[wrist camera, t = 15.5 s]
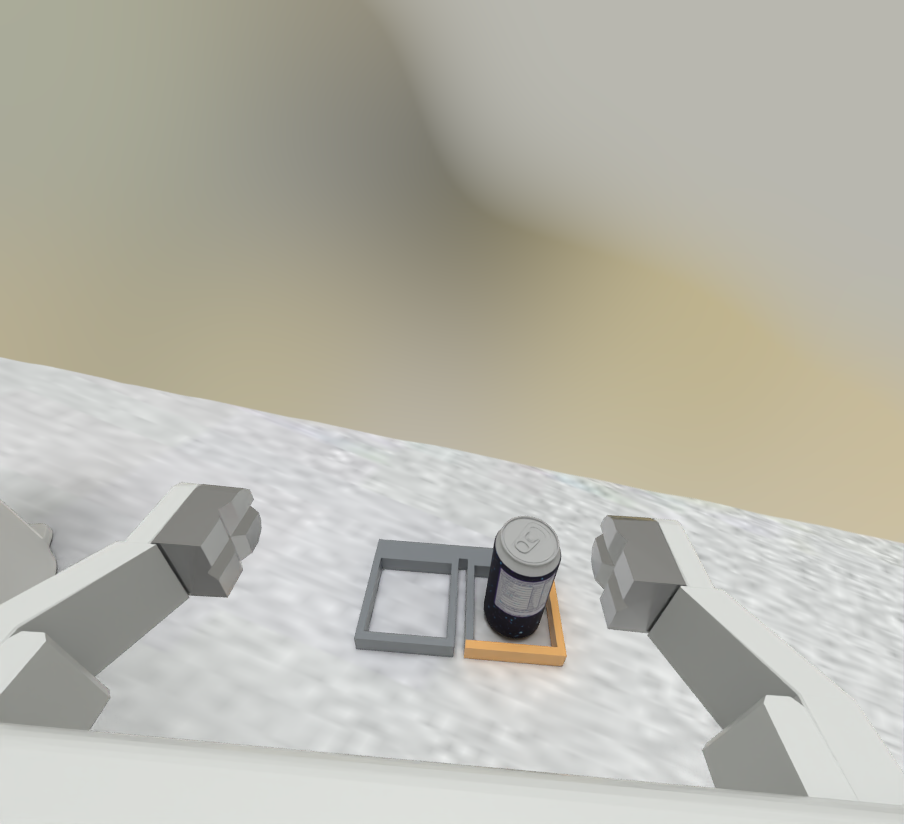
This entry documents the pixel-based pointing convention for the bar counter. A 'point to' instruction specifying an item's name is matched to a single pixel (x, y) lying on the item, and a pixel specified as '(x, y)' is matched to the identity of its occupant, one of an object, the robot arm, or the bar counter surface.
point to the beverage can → (521, 575)
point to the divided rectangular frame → (450, 606)
